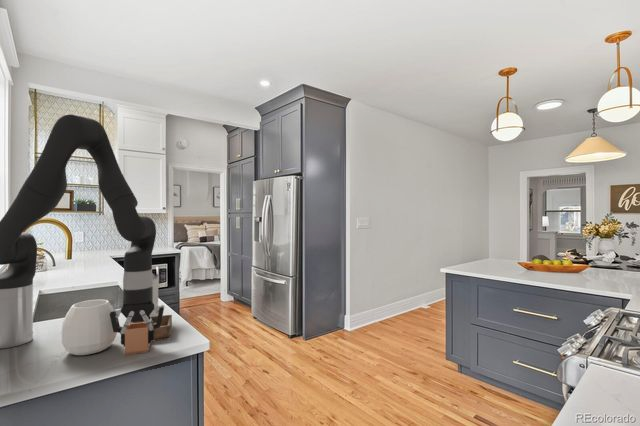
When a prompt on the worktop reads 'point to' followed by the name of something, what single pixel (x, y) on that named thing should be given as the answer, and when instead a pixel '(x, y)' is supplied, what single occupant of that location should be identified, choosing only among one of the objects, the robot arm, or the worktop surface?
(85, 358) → the worktop surface
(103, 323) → the white round vase
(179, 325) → the worktop surface
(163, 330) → the walnut crate
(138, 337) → the terracotta crate
